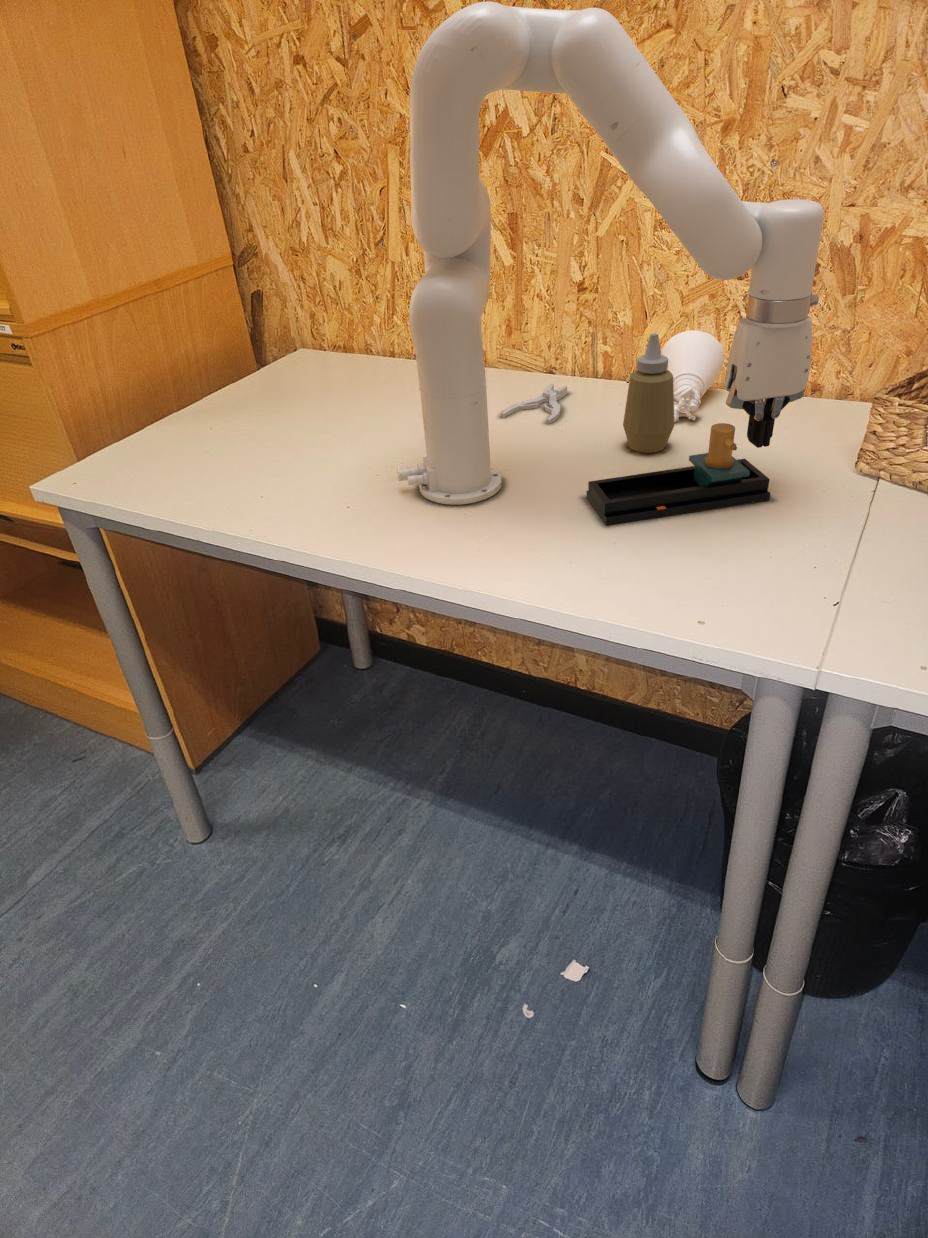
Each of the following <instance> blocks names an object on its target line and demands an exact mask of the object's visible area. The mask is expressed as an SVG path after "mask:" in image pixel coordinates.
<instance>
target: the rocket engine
mask: <svg viewBox="0 0 928 1238" xmlns="http://www.w3.org/2000/svg"><path fill="white" fill-rule="evenodd" d="M661 355H663V356H666V357H667V358H668V368H667V370H668V371H670V372H671V373H672V375H673V390H674V423H677V421H680V419H679V418H682V417H684V418H687V419H688V420H691V421H695V420H696V419H697V418H696V417H697V416H695V415H693V414H692V412H696V411H697V410H699V407H700V406H701V403H702V401H701V399H702V397H703V396H704V394H705V393H706V392H708V390H709V389H710V388H711V387H712V385H713V384H714V383H715V382H716V381H717V379H718V377H719V375H720V374H721V372H722V370H723V367H724V364H725V351H724V348H723V346H722V344H721V342H720V341H719V340H718V339H717V338H716V337H715V336H714V335H712V334H710V333H708V332H705V331H702V330H686V331H685V330H684V331H682V332H681V331H680V332H679V333H677V334H675V335H673V336H672V337H671V338H669V339H668V340H667V341H666V342H665V344H664V345H663V346H662V348H661Z"/></svg>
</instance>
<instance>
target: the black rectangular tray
mask: <svg viewBox="0 0 928 1238" xmlns="http://www.w3.org/2000/svg"><path fill="white" fill-rule="evenodd" d="M736 460H737V461H739V462H740V463H741V464H742V465H743V466H744V467H746V468H747V469H748V470H749V471H750V475H749V476H748V477H742V480H737V481H730V482H724V483H717V484H710V485H704V486H700V485H699V484H698V483H697V482H696V481H695V480H693V477H694V467H695V466H694V465H692V466H684V467H679V468H678V467H677V468H671V469H666V470H658V471H651V472H643V473H638V474H631V475H623V476H617V477H610V478H603V479H595V480H590V481H588V484H587V485H588V487H587V490H586V497H585V498H586V500H587V501H588V502H589V503H590V505H591V507H593V509H594V510H595V512H596V513H597V515H598V516H599V517H600V519H601V520H602V522H603V523H604V524H605V526H612V525H619V524H625V523H631V522H638V521H643V520H649V519H657V518H663V517H671V516H676V515H683V514H690V513H697V512H704V511H710V510H717V509H722V508H723V509H724V508H728V507H736V506H741V505H742V506H743V505H749V504H755V503H761V502H768V501H770V498H771V492H770V491H768V490H769V485H770V478H769V477H768V476H767V475H766V474H765V473H763V472H762V471H761V470H759V469H758V468H757V467H756V466H754V465H753V464H752V463H751V462H750V461H749V460H747V459H746V458H739V459H736Z"/></svg>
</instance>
